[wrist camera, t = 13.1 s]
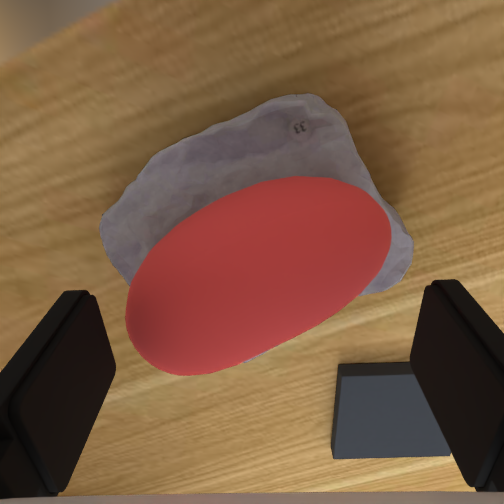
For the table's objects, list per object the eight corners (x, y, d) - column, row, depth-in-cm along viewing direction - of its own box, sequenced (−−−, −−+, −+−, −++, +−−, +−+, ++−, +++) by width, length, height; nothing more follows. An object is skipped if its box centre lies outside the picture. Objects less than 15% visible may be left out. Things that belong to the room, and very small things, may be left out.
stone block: (108, 201, 19) (218, 345, 22) (55, 223, 15) (201, 402, 17) (304, 58, 17) (408, 239, 19) (312, 30, 12) (448, 273, 14)
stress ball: (129, 182, 15) (40, 325, 11) (361, 105, 10) (353, 294, 6) (201, 264, 18) (152, 395, 14) (400, 230, 14) (409, 406, 10)
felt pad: (338, 364, 23) (341, 376, 22) (470, 359, 23) (479, 372, 22) (330, 446, 27) (333, 459, 26) (443, 442, 27) (450, 456, 26)
